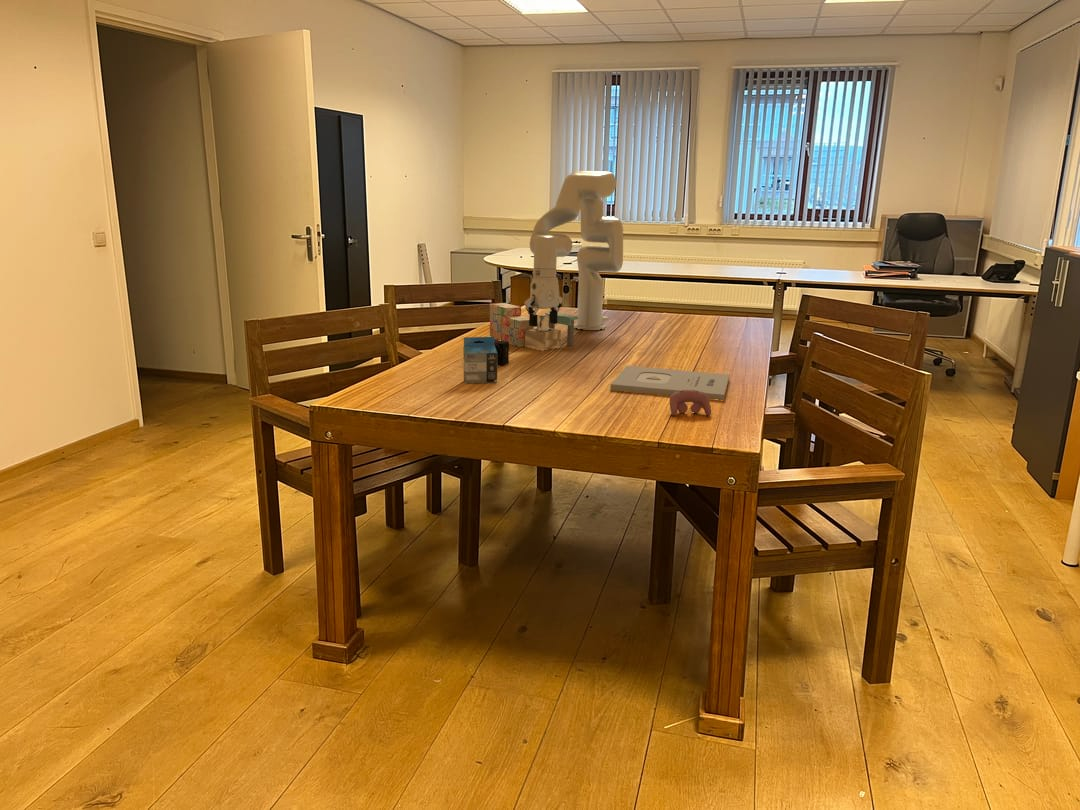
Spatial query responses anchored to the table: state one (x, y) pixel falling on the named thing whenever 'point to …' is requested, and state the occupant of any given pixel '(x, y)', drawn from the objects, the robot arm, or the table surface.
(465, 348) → the label tape box
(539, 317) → the peg
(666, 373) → the award plaque
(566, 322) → the teal bridge block
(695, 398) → the video game controller
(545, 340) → the socket
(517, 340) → the stack of blocks
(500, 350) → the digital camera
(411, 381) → the table surface
